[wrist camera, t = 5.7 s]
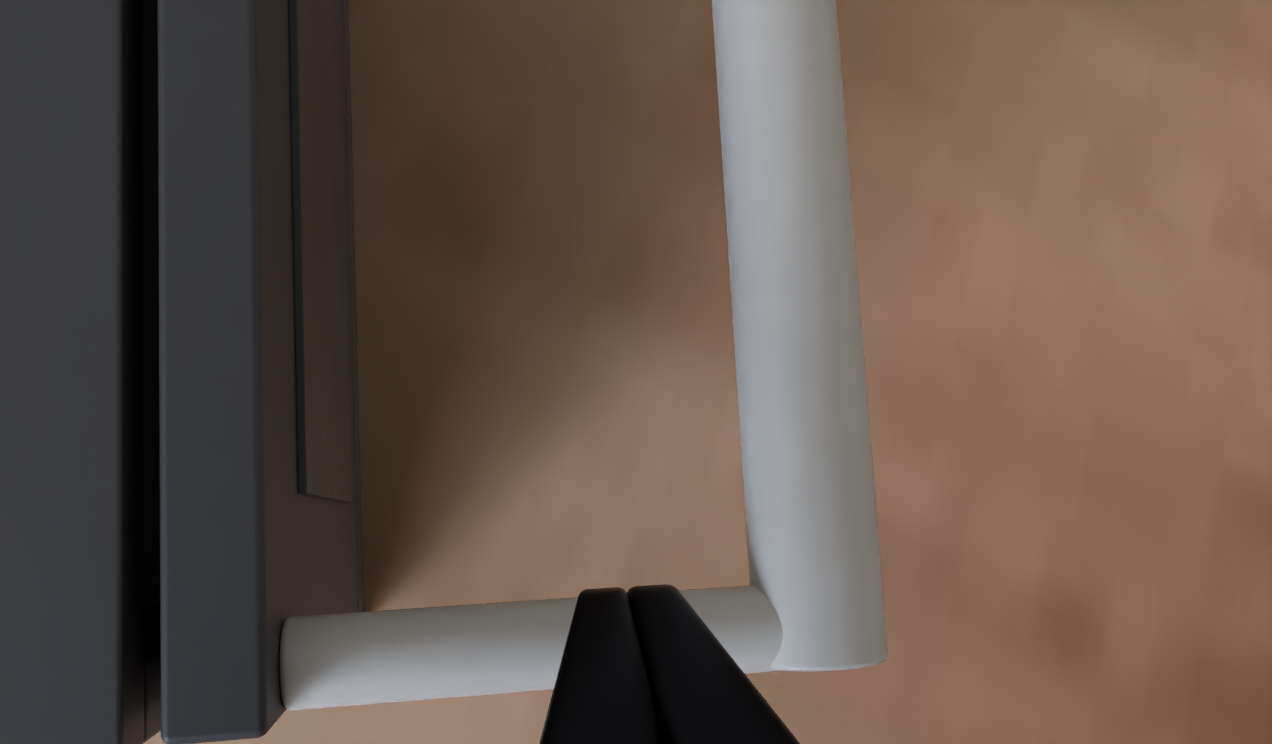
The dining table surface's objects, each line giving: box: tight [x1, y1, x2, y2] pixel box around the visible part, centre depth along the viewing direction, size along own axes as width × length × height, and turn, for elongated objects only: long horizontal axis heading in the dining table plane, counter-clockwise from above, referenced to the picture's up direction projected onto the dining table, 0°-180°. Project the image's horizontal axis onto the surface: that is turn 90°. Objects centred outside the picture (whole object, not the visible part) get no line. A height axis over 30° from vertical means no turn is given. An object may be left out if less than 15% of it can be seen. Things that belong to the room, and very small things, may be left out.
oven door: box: [158, 0, 888, 744], centre depth 17 cm, size 7×15×11 cm, turn 3°
